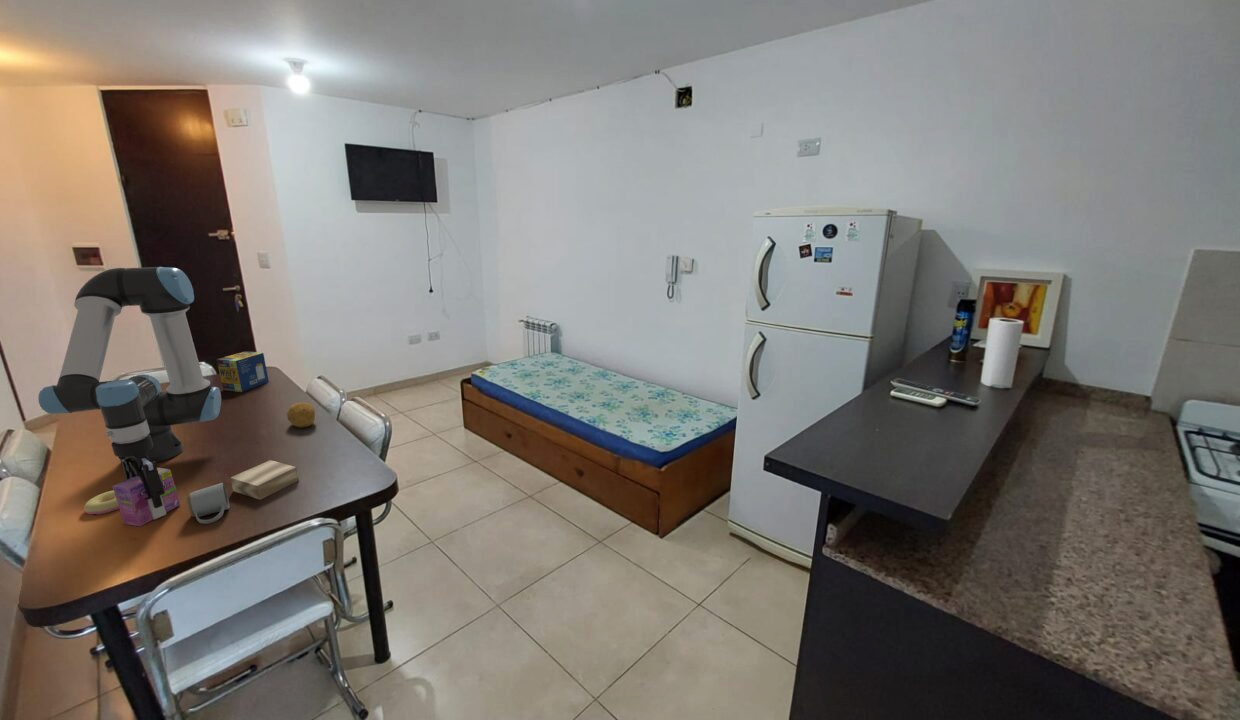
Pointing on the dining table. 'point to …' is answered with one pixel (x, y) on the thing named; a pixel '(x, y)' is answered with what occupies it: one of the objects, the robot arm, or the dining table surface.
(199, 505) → the ceramic mug
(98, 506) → the donut
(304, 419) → the potato
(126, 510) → the box
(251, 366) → the protein box
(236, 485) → the maple block
